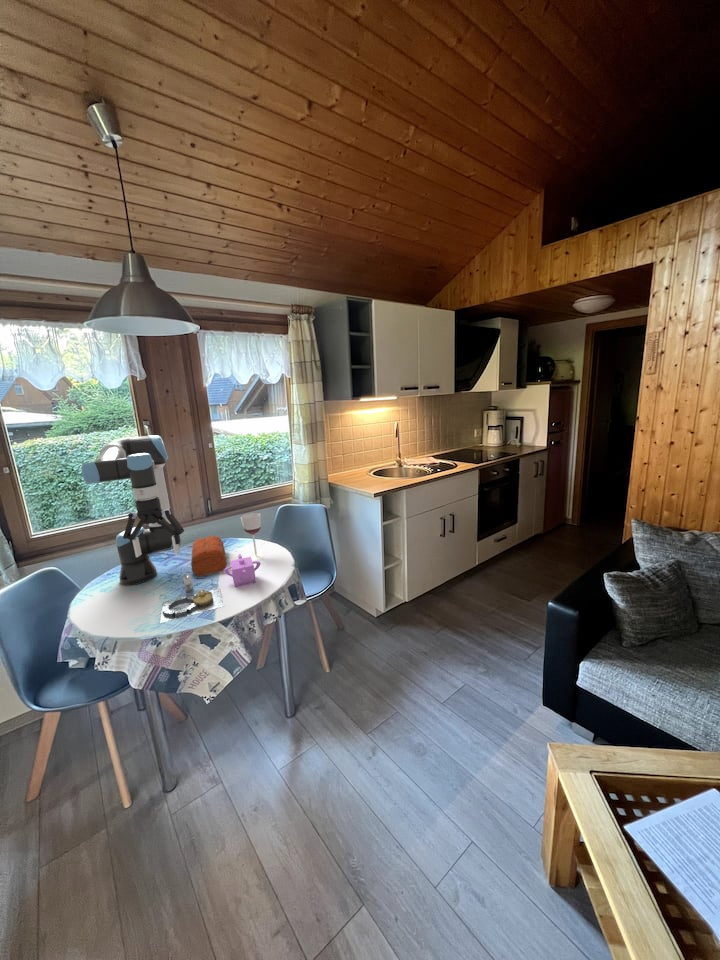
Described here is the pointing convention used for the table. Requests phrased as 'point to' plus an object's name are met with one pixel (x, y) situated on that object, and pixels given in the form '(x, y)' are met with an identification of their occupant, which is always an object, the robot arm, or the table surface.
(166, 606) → the carrier plate
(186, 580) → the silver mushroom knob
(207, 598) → the gold cymbal
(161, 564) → the table surface
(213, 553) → the bread
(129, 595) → the table surface
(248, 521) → the wineglass
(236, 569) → the teapot
